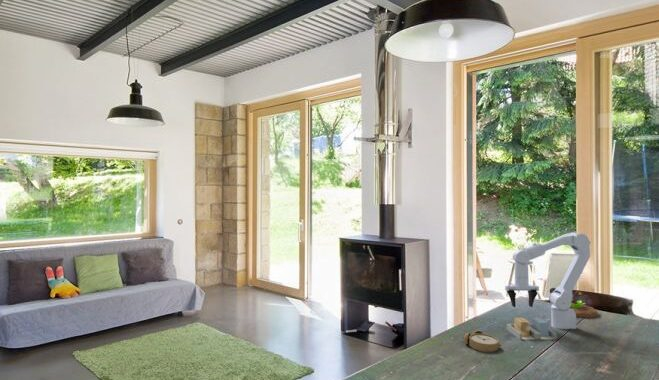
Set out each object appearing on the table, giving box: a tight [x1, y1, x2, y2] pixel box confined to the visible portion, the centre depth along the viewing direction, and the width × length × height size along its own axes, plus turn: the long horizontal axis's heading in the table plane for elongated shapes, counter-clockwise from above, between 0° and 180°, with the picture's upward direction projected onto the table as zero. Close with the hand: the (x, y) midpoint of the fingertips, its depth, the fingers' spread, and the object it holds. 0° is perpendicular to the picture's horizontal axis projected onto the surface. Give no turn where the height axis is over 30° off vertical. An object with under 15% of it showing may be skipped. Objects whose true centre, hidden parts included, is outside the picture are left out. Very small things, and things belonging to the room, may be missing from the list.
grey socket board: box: [506, 323, 558, 340], centre depth 184 cm, size 15×14×3 cm
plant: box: [570, 290, 598, 319], centre depth 219 cm, size 20×20×11 cm
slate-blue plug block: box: [531, 317, 550, 337], centre depth 183 cm, size 4×7×6 cm, turn 178°
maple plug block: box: [513, 317, 530, 337], centre depth 184 cm, size 4×7×6 cm, turn 178°
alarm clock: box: [462, 330, 503, 353], centre depth 173 cm, size 11×5×15 cm
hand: (522, 306), depth 196 cm, fingers open, 7 cm apart
